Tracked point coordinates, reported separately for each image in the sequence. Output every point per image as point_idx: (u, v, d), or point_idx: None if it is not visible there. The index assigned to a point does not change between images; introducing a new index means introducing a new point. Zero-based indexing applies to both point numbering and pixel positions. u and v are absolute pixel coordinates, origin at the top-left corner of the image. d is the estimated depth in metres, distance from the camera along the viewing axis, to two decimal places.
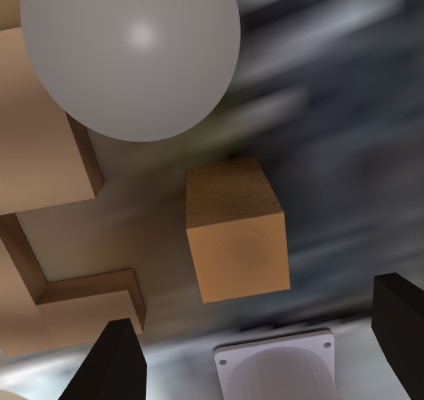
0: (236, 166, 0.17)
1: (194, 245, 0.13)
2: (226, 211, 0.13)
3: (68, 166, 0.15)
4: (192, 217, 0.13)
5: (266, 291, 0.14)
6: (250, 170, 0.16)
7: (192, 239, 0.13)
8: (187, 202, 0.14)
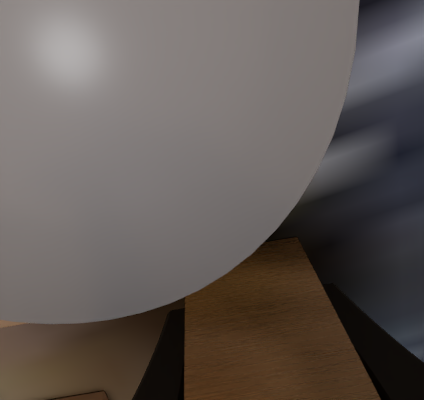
0: (269, 262, 0.10)
1: None
2: None
3: None
4: None
5: None
6: (296, 276, 0.09)
7: None
8: (187, 365, 0.07)
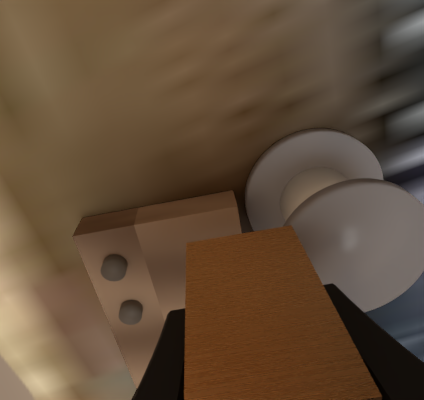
0: (265, 248, 0.11)
1: None
2: (261, 376, 0.07)
3: None
4: (197, 385, 0.07)
5: None
6: (290, 259, 0.10)
7: None
8: (187, 335, 0.08)
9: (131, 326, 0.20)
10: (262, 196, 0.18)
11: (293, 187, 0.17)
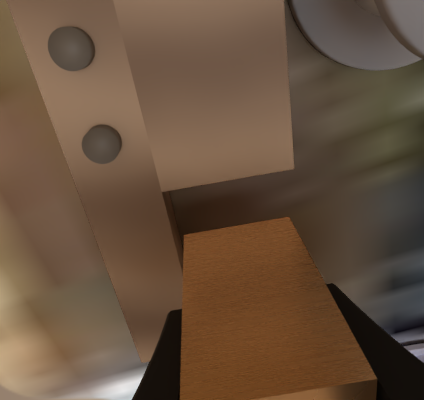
0: (262, 238, 0.11)
1: None
2: (257, 361, 0.07)
3: (273, 126, 0.12)
4: (193, 370, 0.07)
5: None
6: (287, 249, 0.10)
7: None
8: (184, 323, 0.08)
9: (104, 177, 0.13)
10: None
11: None
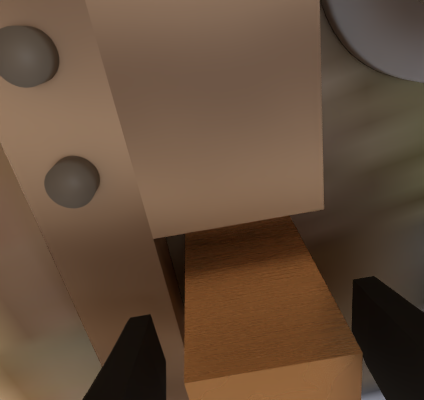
0: (260, 228, 0.11)
1: None
2: (254, 339, 0.07)
3: (298, 157, 0.09)
4: (196, 348, 0.08)
5: None
6: (283, 238, 0.11)
7: (196, 396, 0.07)
8: (186, 306, 0.09)
9: (78, 222, 0.10)
10: None
11: None
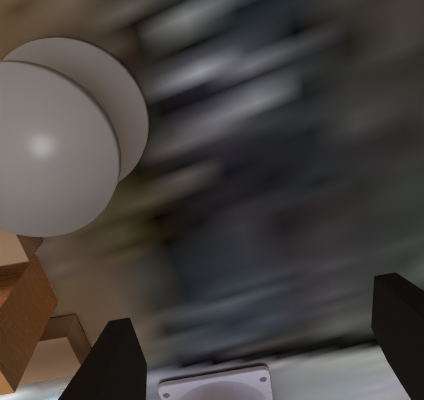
0: (9, 269, 0.19)
1: None
2: None
3: (2, 235, 0.17)
4: None
5: None
6: (12, 276, 0.18)
7: None
8: None
9: None
10: None
11: None
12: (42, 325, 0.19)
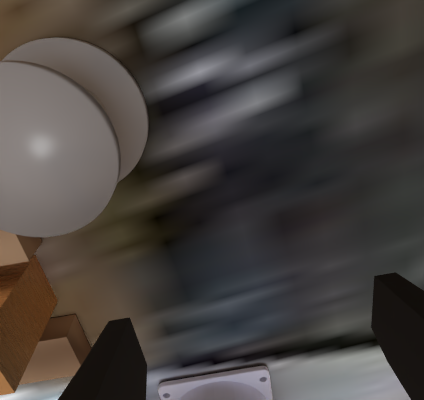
0: (8, 269, 0.19)
1: None
2: None
3: (1, 235, 0.17)
4: None
5: None
6: (12, 276, 0.18)
7: None
8: None
9: None
10: None
11: None
12: (42, 325, 0.19)
